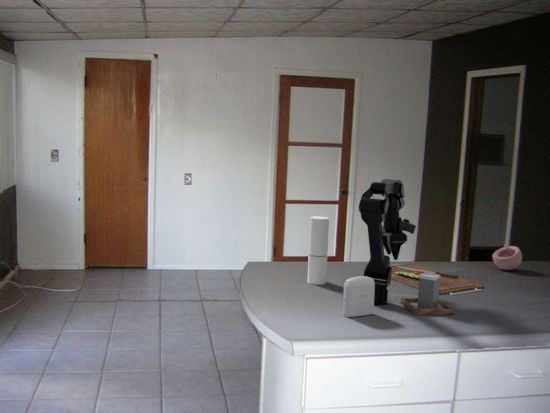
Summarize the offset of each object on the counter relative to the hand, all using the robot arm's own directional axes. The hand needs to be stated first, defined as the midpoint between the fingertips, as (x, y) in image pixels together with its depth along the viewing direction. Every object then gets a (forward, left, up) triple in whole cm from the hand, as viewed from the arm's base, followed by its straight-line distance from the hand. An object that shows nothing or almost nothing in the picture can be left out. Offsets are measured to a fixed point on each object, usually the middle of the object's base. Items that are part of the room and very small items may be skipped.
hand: (392, 257), depth 201 cm
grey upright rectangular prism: (+6, -19, -13) cm, 24 cm away
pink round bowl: (+66, +35, -13) cm, 76 cm away
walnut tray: (+6, -19, -13) cm, 24 cm away
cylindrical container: (-24, +14, -13) cm, 31 cm away
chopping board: (+21, +20, -14) cm, 32 cm away
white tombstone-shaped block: (-19, -25, -13) cm, 34 cm away
